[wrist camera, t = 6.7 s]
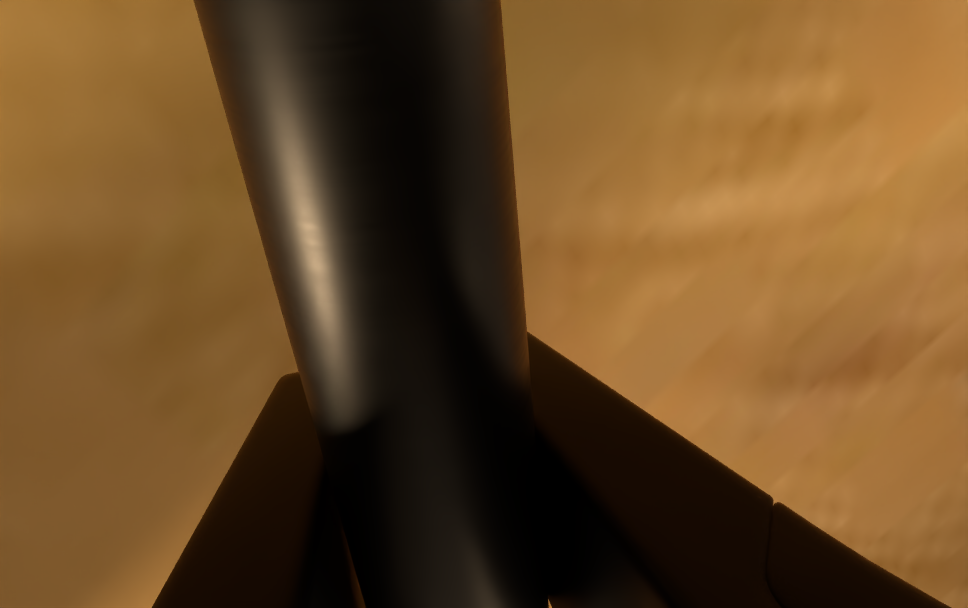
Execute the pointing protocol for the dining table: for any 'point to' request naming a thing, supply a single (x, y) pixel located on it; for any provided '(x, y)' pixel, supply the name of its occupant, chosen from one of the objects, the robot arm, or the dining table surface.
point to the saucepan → (397, 278)
